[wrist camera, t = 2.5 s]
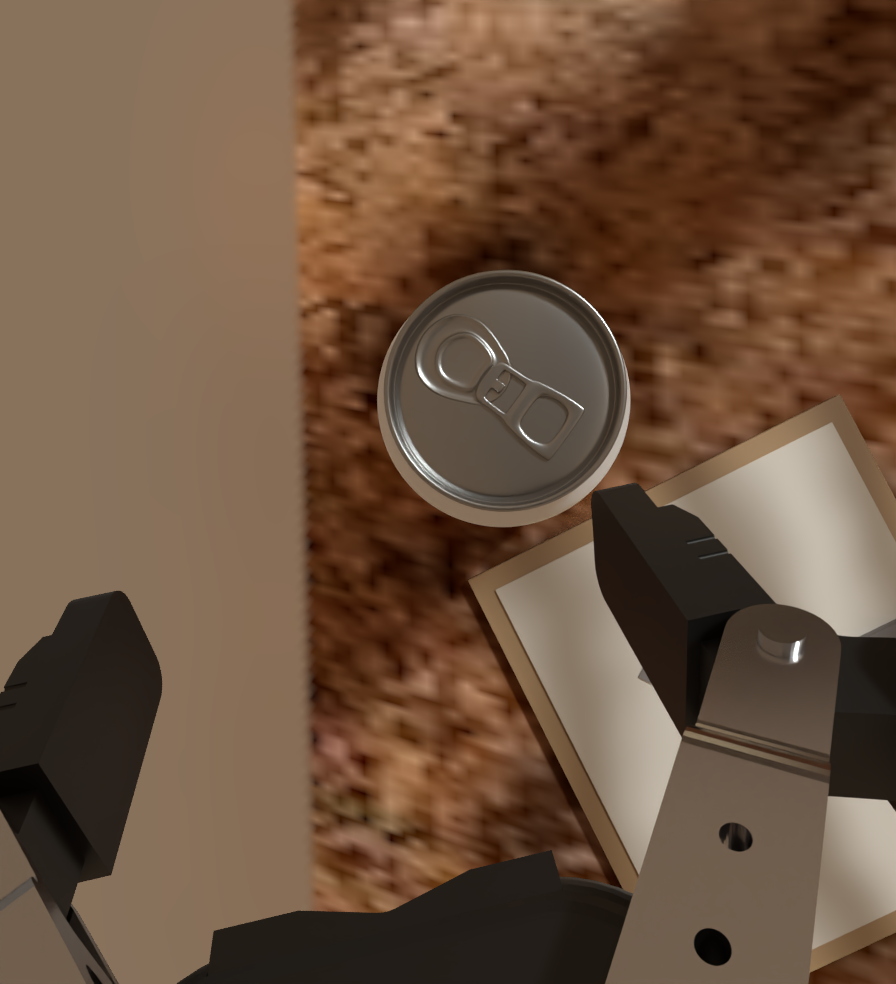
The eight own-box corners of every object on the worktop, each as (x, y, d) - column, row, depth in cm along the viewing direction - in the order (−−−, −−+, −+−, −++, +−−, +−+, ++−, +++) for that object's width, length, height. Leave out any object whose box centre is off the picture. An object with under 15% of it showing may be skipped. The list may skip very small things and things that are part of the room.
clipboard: (858, 384, 28) (870, 380, 27) (1095, 829, 27) (1116, 840, 26) (468, 579, 28) (467, 581, 27) (689, 1019, 27) (696, 1037, 27)
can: (477, 326, 28) (472, 195, 16) (609, 420, 28) (704, 356, 16) (383, 457, 29) (310, 422, 17) (514, 552, 28) (536, 587, 16)
